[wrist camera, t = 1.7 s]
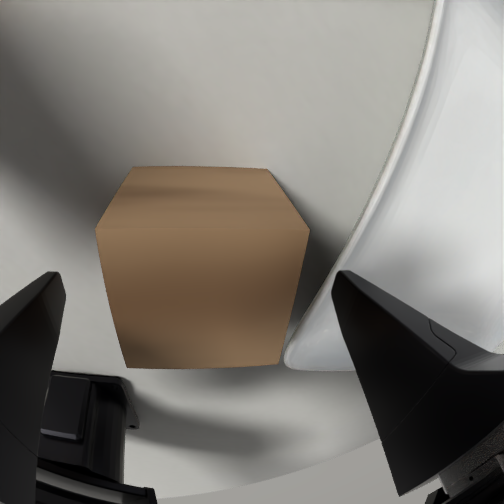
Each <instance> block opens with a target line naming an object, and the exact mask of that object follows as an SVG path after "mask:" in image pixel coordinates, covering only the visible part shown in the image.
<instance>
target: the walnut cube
mask: <svg viewBox="0 0 504 504" xmlns="http://www.w3.org/2000/svg"><path fill="white" fill-rule="evenodd" d="M309 232H310V229H309V228H308V226H307V225H306V223H305V222H304V220H303V219H302V217H301V216H300V215H299V213H298V212H297V210H296V209H295V207H294V206H293V204H292V203H291V202H290V200H289V199H288V197H287V196H286V194H285V193H284V192H283V190H282V189H281V187H280V186H279V185H278V183H277V182H276V180H275V179H274V178H273V176H272V175H271V174H270V172H269V171H268V169H257V168H236V167H201V166H148V167H133V168H132V169H131V171H130V172H129V174H128V175H127V177H126V178H125V180H124V181H123V183H122V185H121V186H120V188H119V189H118V191H117V192H116V194H115V196H114V197H113V199H112V201H111V202H110V204H109V206H108V207H107V209H106V211H105V212H104V214H103V216H102V217H101V219H100V221H99V223H98V224H97V226H96V228H95V233H96V239H97V245H98V251H99V257H100V262H101V268H102V273H103V278H104V283H105V287H106V292H107V296H108V301H109V305H110V309H111V313H112V317H113V321H114V325H115V329H116V333H117V336H118V340H119V344H120V347H121V350H122V354H123V357H124V361H125V364H126V367H127V368H143V369H204V368H230V367H248V366H262V365H274V364H278V363H279V360H280V356H281V352H282V348H283V344H284V340H285V336H286V332H287V328H288V324H289V320H290V316H291V312H292V308H293V304H294V300H295V295H296V291H297V287H298V283H299V278H300V274H301V269H302V265H303V260H304V256H305V251H306V247H307V242H308V237H309Z"/></svg>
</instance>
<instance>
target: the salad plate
mask: <svg viewBox="0 0 504 504" xmlns="http://www.w3.org/2000/svg"><path fill="white" fill-rule="evenodd" d="M339 270H350V271H352V272H354V273H355V274H357V275H359V276H361V277H362V278H364V279H366V280H367V281H369V282H371V283H372V284H374V285H376V286H377V287H379V288H381V289H383V290H384V291H386V292H388V293H389V294H391V295H393V296H394V297H396V298H398V299H399V300H401V301H403V302H404V303H406V304H407V305H409V306H411V307H412V308H414V309H416V310H417V311H419V312H421V313H422V314H424V315H425V316H427V317H428V318H430V319H432V320H434V321H435V322H437V323H439V324H440V325H442V326H444V327H445V328H447V329H449V330H450V331H452V332H454V333H456V334H457V335H459V336H461V337H463V338H465V339H467V340H468V341H470V342H472V343H474V344H476V345H478V346H480V347H481V348H483V349H485V350H487V351H489V352H492V353H493V352H494V351H495V349H496V348H497V347H498V346H499V345H500V344H501V342H502V341H503V340H504V0H434V6H433V12H432V17H431V21H430V26H429V31H428V35H427V39H426V44H425V48H424V52H423V56H422V60H421V63H420V67H419V70H418V73H417V77H416V80H415V83H414V86H413V89H412V92H411V95H410V98H409V102H408V104H407V107H406V110H405V113H404V116H403V118H402V121H401V124H400V126H399V129H398V132H397V134H396V137H395V139H394V142H393V145H392V147H391V150H390V152H389V154H388V157H387V159H386V161H385V163H384V166H383V168H382V170H381V172H380V175H379V177H378V179H377V181H376V184H375V186H374V188H373V190H372V192H371V194H370V197H369V199H368V201H367V203H366V205H365V207H364V209H363V211H362V213H361V215H360V217H359V219H358V221H357V223H356V225H355V227H354V229H353V231H352V232H351V234H350V236H349V238H348V240H347V242H346V244H345V246H344V248H343V250H342V251H341V253H340V255H339V257H338V259H337V260H336V262H335V264H334V266H333V267H332V269H331V271H330V273H329V274H328V276H327V278H326V279H325V281H324V283H323V284H322V286H321V288H320V289H319V291H318V293H317V294H316V296H315V298H314V299H313V301H312V303H311V304H310V306H309V307H308V309H307V310H306V312H305V314H304V315H303V317H302V318H301V320H300V322H299V324H298V325H297V327H296V329H295V331H294V333H293V335H292V337H291V339H290V341H289V344H288V346H287V348H286V350H285V353H284V362H285V365H286V366H287V367H289V368H291V369H294V370H304V371H356V370H355V367H354V365H353V362H352V359H351V357H350V354H349V352H348V349H347V346H346V344H345V341H344V339H343V336H342V333H341V330H340V326H339V323H338V319H337V315H336V312H335V308H334V305H333V301H332V297H331V289H332V286H333V283H334V279H335V276H336V273H337V272H338V271H339Z"/></svg>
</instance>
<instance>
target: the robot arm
mask: <svg viewBox="0 0 504 504" xmlns="http://www.w3.org/2000/svg"><path fill="white" fill-rule="evenodd" d="M331 297H332V301H333V305H334V308H335V312H336V315H337V319H338V323H339V326H340V330H341V333H342V336H343V339H344V341H345V344H346V346H347V349H348V352H349V354H350V357H351V359H352V362H353V365H354V367H355V370H356V372H357V375H358V378H359V380H360V383H361V386H362V389H363V391H364V394H365V397H366V399H367V402H368V405H369V408H370V411H371V413H372V416H373V419H374V422H375V425H376V428H377V431H378V434H379V436H380V439H381V441H382V446H383V448H384V452H385V455H386V458H387V461H388V464H389V467H390V470H391V473H392V477H393V480H394V483H395V486H396V489H397V493H398V495H399V497H400V496H402V495H405V494H407V493H409V492H411V491H413V490H415V489H418V488H420V487H422V486H424V485H426V484H428V483H430V482H431V481H433V480H435V479H437V478H439V480H440V483H441V485H442V487H441V488H439V489H437V490H436V491H434V492H432V493H431V494H429V495H428V497H427V499H426V502H425V504H504V354H496V353H492V352H489V351H487V350H485V349H483V348H481V347H480V346H478V345H476V344H474V343H472V342H470V341H468V340H467V339H465V338H463V337H461V336H459V335H457V334H456V333H454V332H452V331H450V330H449V329H447V328H445V327H444V326H442V325H440V324H439V323H437V322H435V321H434V320H432V319H430V318H428V317H427V316H425V315H424V314H422V313H421V312H419V311H417V310H416V309H414V308H412V307H411V306H409V305H407V304H406V303H404V302H403V301H401V300H399V299H398V298H396V297H394V296H393V295H391V294H389V293H388V292H386V291H384V290H383V289H381V288H379V287H377V286H376V285H374V284H372V283H371V282H369V281H367V280H366V279H364V278H362V277H361V276H359V275H357V274H355V273H354V272H352V271H350V270H339V271H338V272H337V273H336V276H335V279H334V283H333V286H332V289H331ZM65 301H66V293H65V289H64V286H63V282H62V279H61V275H60V273H59V272H46V273H45V274H43V275H42V276H40V277H39V278H37V279H36V280H35V281H33V282H32V283H30V284H29V285H27V286H26V287H25V288H23V289H22V290H20V291H19V292H18V293H16V294H15V295H13V296H12V297H11V298H9V299H8V300H7V301H5V302H4V303H3V304H1V305H0V504H157V500H156V496H155V491H154V489H153V488H148V487H144V488H141V487H136V486H131V485H126V484H124V451H125V431H126V429H138V428H139V421H138V419H137V416H136V414H135V411H134V409H133V406H132V404H131V401H130V399H129V396H128V394H127V391H126V388H125V386H124V383H123V381H122V380H120V379H118V378H114V377H99V376H87V375H76V374H67V373H58V372H51V369H52V365H53V360H54V356H55V352H56V348H57V344H58V340H59V335H60V329H61V323H62V317H63V311H64V306H65Z"/></svg>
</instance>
